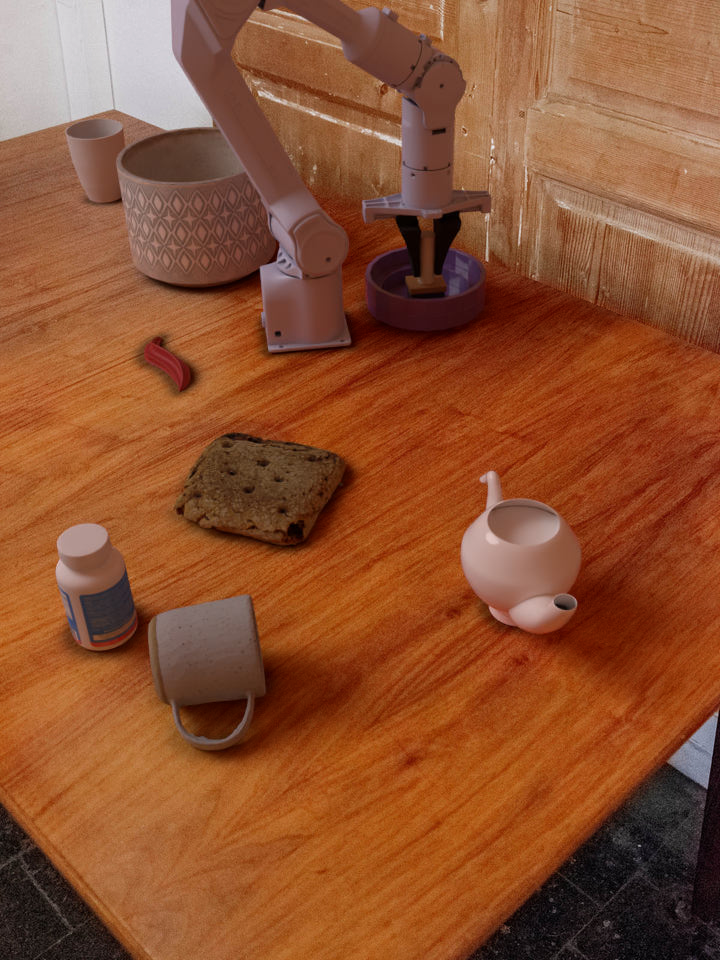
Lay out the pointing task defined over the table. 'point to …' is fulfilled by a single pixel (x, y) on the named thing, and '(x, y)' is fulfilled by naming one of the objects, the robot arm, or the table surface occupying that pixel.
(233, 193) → the planter
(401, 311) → the bowl
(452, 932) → the table surface
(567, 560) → the teapot
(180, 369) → the cayenne pepper
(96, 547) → the pill bottle
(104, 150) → the cup
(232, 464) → the pastry
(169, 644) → the ceramic mug
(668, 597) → the table surface
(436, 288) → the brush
